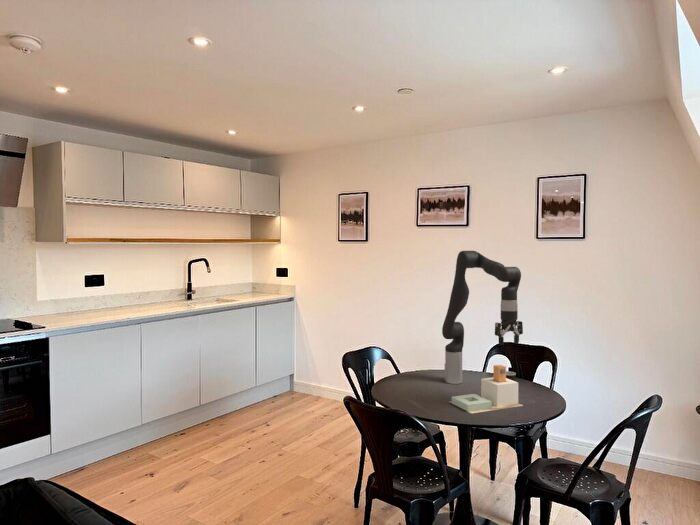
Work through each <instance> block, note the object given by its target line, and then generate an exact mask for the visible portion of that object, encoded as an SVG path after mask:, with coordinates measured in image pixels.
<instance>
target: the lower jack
mask: <svg viewBox="0 0 700 525" xmlns="http://www.w3.org/2000/svg"><path fill="white" fill-rule="evenodd" d="M451 401H452V403H451V404H453V405H454V406H456V407H458V408H460V409H462V410H464V411H465V410H466V412H467V411H468V412H467V413H469V411H476V410H483V409H489V408H492V401H489V400H487V399H485V398H483V397H481V396H480V395H478V394H476V393H469V394H463V395H462V394H461V395H455V396H451Z"/></svg>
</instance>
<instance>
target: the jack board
mask: <svg viewBox="0 0 700 525" xmlns="http://www.w3.org/2000/svg"><path fill="white" fill-rule="evenodd" d="M448 403H449V404H452V400H451V401H448ZM523 406H524V405H523V404H520V402H518V404H513V405H507V406H500V407H497V406H494V405H492V408H489V409H483V410H476V411H469V412H468V411H466V410H464V411H466V412H467V413H469V414H478V413H483V412H489V411H497V410H503V409H511V408H517V407H523Z"/></svg>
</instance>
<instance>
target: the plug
mask: <svg viewBox="0 0 700 525" xmlns="http://www.w3.org/2000/svg"><path fill="white" fill-rule="evenodd" d="M506 371H507V366H505V365H502V364H495V365H493V372H492V373H493V376H492V377H493V381H495V382H498V383H501V382H506Z"/></svg>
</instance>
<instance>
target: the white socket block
mask: <svg viewBox="0 0 700 525" xmlns="http://www.w3.org/2000/svg"><path fill="white" fill-rule="evenodd" d="M480 382H481V383H480V386H481V387H480V393H481V394H480V395H481V397H483V398H485V399H487V400H489V401H492V405H494V406H497V407H500V406H507V405H513V404H518V403H519V382H517V381H516V380H515V381H513V380H510V379H507V378H506V382H501V383H498V382H495V381H493V376H492V377H486V378H481V379H480Z"/></svg>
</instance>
